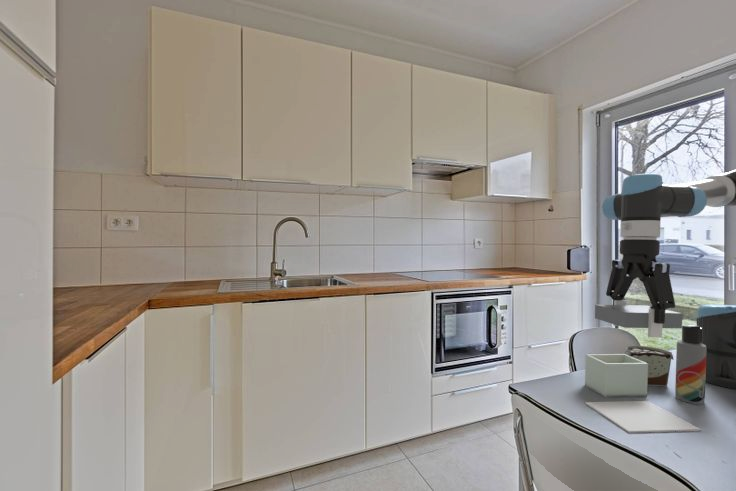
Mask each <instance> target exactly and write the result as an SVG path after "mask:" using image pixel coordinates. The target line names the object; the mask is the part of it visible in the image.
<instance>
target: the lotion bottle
mask: <svg viewBox="0 0 736 491" xmlns="http://www.w3.org/2000/svg"><path fill="white" fill-rule="evenodd" d="M701 342H702V328H701V327H700V326H697V325H692V324H690V325H689V324H688V325H682V328H681V340H678V341H676V354H675V355H676V358H675V384H674V385H675V392H674V393H675V398H676V399H678V400H680V401H682V402H686V403H689V404H693V405H704V404H705V400H706V382H705V379H706V345H704V344H701Z"/></svg>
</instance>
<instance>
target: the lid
mask: <svg viewBox="0 0 736 491" xmlns="http://www.w3.org/2000/svg"><path fill="white" fill-rule="evenodd" d="M651 306H652V305H651ZM651 306H650V305H646V304H645V305H643V304H641V305H638V304H637V305H635V304H633V305H632V304H631V305H630V304H626V305H613V304H594V319H596V320H599V321H602V322H606V323H609V324H612V325H613V324H615V325H618V326H617V327H620V328H624V329H626V328H627V329H629V328H630V329H632V328H633V329H648V317H649V308H650V307H651ZM682 326H683V313H682V312H678V311H673V310H669V309H666V310H665V322H664V324H662V329H682Z"/></svg>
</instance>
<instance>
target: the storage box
mask: <svg viewBox="0 0 736 491" xmlns="http://www.w3.org/2000/svg"><path fill="white" fill-rule="evenodd" d="M584 362H585V364H584V365H585V366H584V368H585V369H584V386H585V387H587V388H588V389H591V390H592V391H594V392H595V393H597V394H599V395H600V396H602V397H604V398H643V397H644V398H645V397H648V385H647V382H648V363H645V362H643V361H640V360H638V359H635V358H633V357H631V356H628V355H626V354H624V353H613V354H612V353H611V354H610V353H607V354H606V353H604V354H603V353H601V354H599V353H598V354H597V353H596V354H595V353H593V354H588V353H587V354H585V360H584Z"/></svg>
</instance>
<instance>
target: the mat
mask: <svg viewBox="0 0 736 491" xmlns="http://www.w3.org/2000/svg"><path fill="white" fill-rule="evenodd" d="M585 405H587V406H588V407H589V408H591V409H592V410H594V411H595V412H597V413H598V414H600V415H601V416H603V417H604V418H606V419H607V420H608V421H610V422H611V423H613V424H615V425H616V426H618V427H620V428H621V429H622V430H624V431H625V432H627V433H628V434H632V433H633V434H639V433H640V434H641V433H668V432H669V433H671V432H675V431H676V432H677V433H678V432H701V428H699V427H697V426H695V425H694V424H691V423H690V422H688V421H686V420H684V419H682V418H680V417H678V416H676V415H675V414H673V413H671V412H669V411H667V410H665V409H664V408H661V407H659V406H658V405H656V404H654V403H652V402H651V401H649V400H637V401H636V400H635V401H631V400H630V401H595V402H594V401H592V402H591V401H589V402H585Z"/></svg>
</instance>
